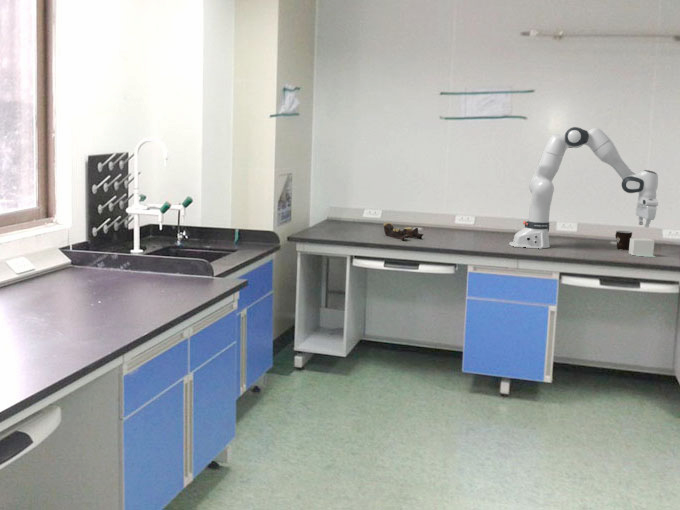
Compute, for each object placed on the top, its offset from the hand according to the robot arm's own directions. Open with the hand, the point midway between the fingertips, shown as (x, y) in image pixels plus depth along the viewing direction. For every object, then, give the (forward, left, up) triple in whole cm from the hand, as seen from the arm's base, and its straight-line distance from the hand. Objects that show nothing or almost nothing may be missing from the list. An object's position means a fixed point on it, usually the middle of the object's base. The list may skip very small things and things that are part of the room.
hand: (643, 226), depth 428 cm
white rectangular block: (0, 0, -16) cm, 16 cm away
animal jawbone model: (-128, +34, -17) cm, 133 cm away
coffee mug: (-3, +20, -16) cm, 26 cm away
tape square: (+1, 0, -16) cm, 16 cm away
